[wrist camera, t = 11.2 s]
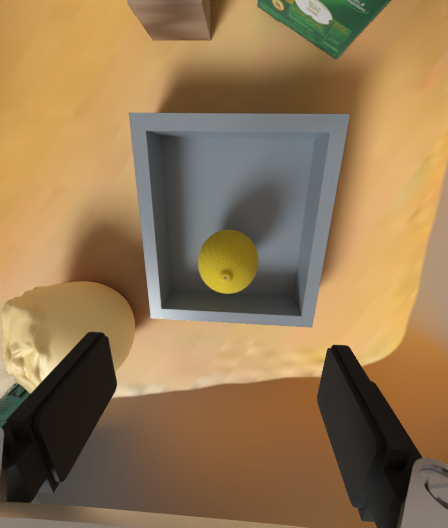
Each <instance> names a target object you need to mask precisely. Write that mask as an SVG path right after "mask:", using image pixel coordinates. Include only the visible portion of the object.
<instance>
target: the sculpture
mask: <svg viewBox="0 0 448 528" xmlns="http://www.w3.org/2000/svg"><path fill="white" fill-rule="evenodd" d="M1 318H2V327H3V340H2V344H3V353H4V359H5V366H6V369H7V373H8V374H10V375H11V376H14V379H15V381H16V382H17V383H18V384H20V385H21V386H23V387H24V388H25V389H26V390H27V391H28V392H29V393H30V394H31V393H32V392H33V391H34V389H35V388H36V387H37V386H38V385H39V384H40V383H41V382H42V381H43V380H44V379H45V378H46V377H47V376H48V374H49V373H50V372H51V371H52V370H53V369H54V368H55V367H56V366H57V365H58V364H59V363H60V362H61V361H62V359H63V358H64V357H65V356H66V355H67V354H68V353H69V352H70V351H71V350H72V349H73V348H74V347H75V346H76V344H77V343H78V342H79V341H80V340H81V339H82V338H83V337H84V336H85V335H86V334H87V333H88V332H103V333H104V334H105V336H107V337H108V338H109V343H110V349H111V354H112V359H113V365H114V370H115V372H116V371H117V369H118V368H119V367H120V366H121V365H122V363H123V362H124V361H125V359H126V357H127V356H128V354H129V351H130V349H131V346H132V343H133V340H134V334H135V320H134V315H133V312H132V309H131V307H130V305H129V303H128V302H127V301H126V299H125V298H124V297H123V296H122V295H121V294H119V293H118V292H117V291H115V290H114V289H112V288H110V287H108V286H106V285H103V284H100V283H96V282H89V281H77V282H68V283H61V284H56V285H51V286H46V287H36V288H34V289H32V290H30V291H26V292H25V293H24V294H23V295H22V296H20V297H15V298H13V299H11V300H9V301H7V302H6V303H5V305H4V307H3V309H2V312H1Z"/></svg>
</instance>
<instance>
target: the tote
mask: <svg viewBox="0 0 448 528" xmlns="http://www.w3.org/2000/svg"><path fill="white" fill-rule="evenodd" d="M349 117H350V114H256V113H129V119H130V128H131V137H132V147H133V156H134V165H135V175H136V184H137V194H138V203H139V212H140V222H141V231H142V240H143V250H144V259H145V268H146V278H147V287H148V297H149V306H150V315H151V318H156V319H173V320H191V321H208V322H226V323H244V324H261V325H279V326H296V327H312V325H313V319H314V314H315V308H316V303H317V297H318V291H319V286H320V280H321V275H322V269H323V263H324V258H325V252H326V247H327V241H328V235H329V230H330V224H331V218H332V213H333V207H334V202H335V196H336V190H337V185H338V179H339V174H340V168H341V162H342V157H343V151H344V145H345V140H346V134H347V129H348V123H349ZM229 229H230V230H237V231H239V232H241V233H243V234H245V235H246V236H247V237H249V238H250V240H251V241H252V242H253V243H254V245H255V247H256V250H257V252H258V260H259V262H258V269H257V272H256V274H255V277H254V279H253V280H252V281H251V283H250V284H249V285H248V286H247V287H246V288H244V289H243V290H241V291H239V292H236V293H231V294H225V293H220V292H216V291H215V290H213V289H211V288H210V287H209V286H208V285H206V283H205V282H204V281H203V279H202V277H201V275H200V272H199V268H198V257H199V252H200V249H201V247H202V245H203V243H204V242H205V241H206V240H207V239H208V237H210V236H211V235H213V234H214V233H216V232H219V231H221V230H229Z"/></svg>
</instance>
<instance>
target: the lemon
mask: <svg viewBox="0 0 448 528" xmlns="http://www.w3.org/2000/svg"><path fill="white" fill-rule="evenodd" d="M258 262H259V260H258V252H257V250H256V247H255V245H254V243H253V242H252V241H251V240H250V238H249V237H247V236H246V235H245V234H243V233H241V232H239V231H237V230H230V229H229V230H221V231H219V232H216V233H214V234H213V235H211V236H210V237H208V239H207V240H206V241H205V242H204V243H203V245H202V247H201V249H200V252H199V257H198V268H199V272H200V275H201V277H202V279H203V281H204V282H205V283H206V285H208V286H209V287H210V288H211V289H213V290H215V291H216V292H220V293H225V294H231V293H236V292H239V291H241V290H243V289H244V288H246V287H247V286H248V285H249V284H250V283H251V281H252V280H253V279H254V277H255V274H256V272H257V269H258Z"/></svg>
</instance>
